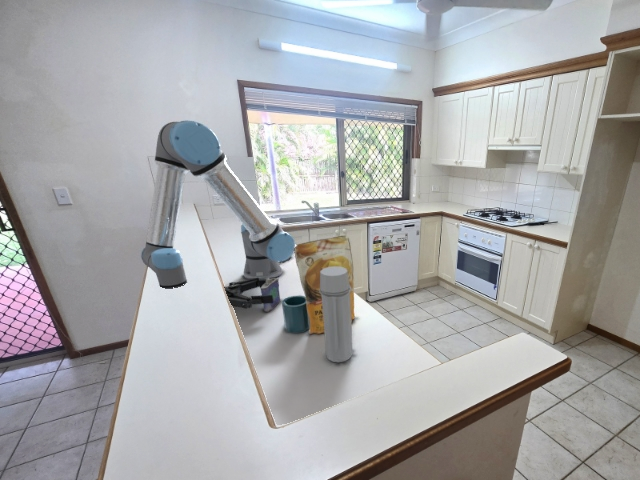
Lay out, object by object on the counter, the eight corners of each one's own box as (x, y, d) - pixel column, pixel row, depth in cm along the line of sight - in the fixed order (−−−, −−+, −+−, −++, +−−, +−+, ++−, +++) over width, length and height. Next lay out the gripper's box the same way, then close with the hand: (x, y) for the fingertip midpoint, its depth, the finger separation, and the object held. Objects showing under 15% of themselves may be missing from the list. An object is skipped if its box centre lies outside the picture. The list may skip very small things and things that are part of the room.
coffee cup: (286, 321, 106) (283, 296, 103) (311, 319, 108) (309, 294, 104) (284, 334, 99) (280, 307, 96) (310, 331, 101) (308, 305, 97)
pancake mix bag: (298, 329, 102) (288, 242, 91) (351, 312, 113) (348, 232, 102) (308, 339, 97) (298, 248, 86) (362, 320, 108) (360, 237, 97)
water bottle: (326, 348, 93) (320, 265, 83) (354, 347, 93) (351, 265, 84) (322, 369, 84) (314, 279, 74) (353, 368, 85) (349, 279, 75)
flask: (269, 312, 112) (264, 283, 107) (261, 311, 112) (256, 282, 108) (282, 300, 120) (278, 273, 116) (274, 300, 120) (270, 272, 116)
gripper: (222, 289, 122) (281, 286, 127) (198, 322, 100) (271, 317, 104) (218, 270, 120) (279, 267, 124) (193, 300, 97) (268, 295, 101)
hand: (276, 290), depth 114 cm, fingers open, 13 cm apart
